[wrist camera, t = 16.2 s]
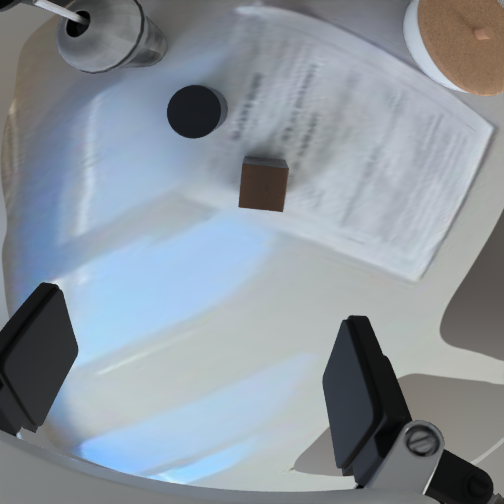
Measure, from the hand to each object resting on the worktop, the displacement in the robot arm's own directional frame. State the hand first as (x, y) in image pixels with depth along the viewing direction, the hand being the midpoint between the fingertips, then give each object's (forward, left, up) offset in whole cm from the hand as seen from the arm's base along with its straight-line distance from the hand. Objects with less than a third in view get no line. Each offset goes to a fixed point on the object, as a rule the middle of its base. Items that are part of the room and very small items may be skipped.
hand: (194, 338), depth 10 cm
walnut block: (+3, -1, -28) cm, 28 cm away
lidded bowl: (+21, +19, -28) cm, 39 cm away
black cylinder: (-4, +6, -28) cm, 29 cm away
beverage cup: (-11, +13, -28) cm, 33 cm away
